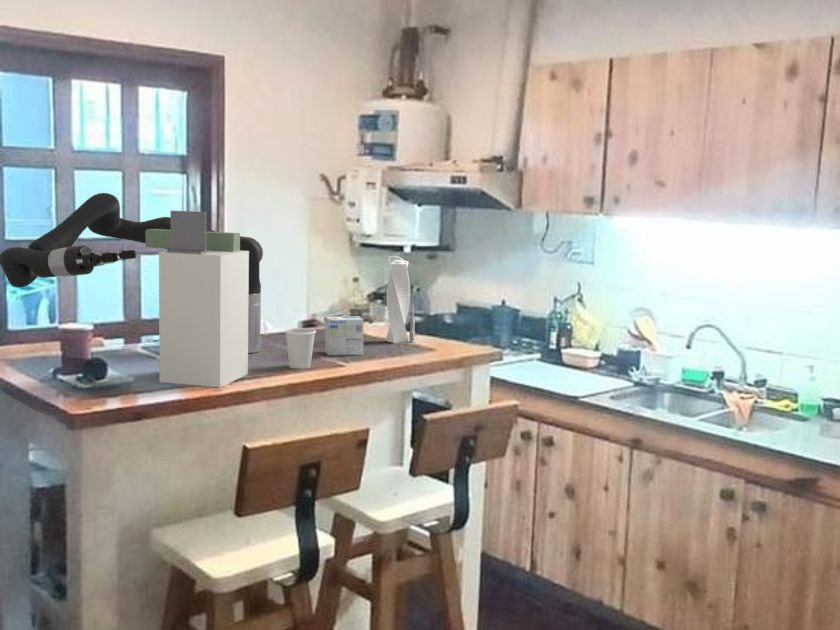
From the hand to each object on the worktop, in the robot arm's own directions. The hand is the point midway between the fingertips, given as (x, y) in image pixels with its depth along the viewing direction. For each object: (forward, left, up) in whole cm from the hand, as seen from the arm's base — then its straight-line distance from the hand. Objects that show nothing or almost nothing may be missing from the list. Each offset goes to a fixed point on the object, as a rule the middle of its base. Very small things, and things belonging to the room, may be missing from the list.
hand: (126, 255), depth 242 cm
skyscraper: (-71, +55, -30) cm, 94 cm away
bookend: (+8, +21, +2) cm, 23 cm away
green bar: (-3, +17, +2) cm, 17 cm away
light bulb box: (-45, +45, -30) cm, 70 cm away
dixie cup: (-21, +40, -30) cm, 54 cm away
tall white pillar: (+2, +23, -30) cm, 38 cm away
